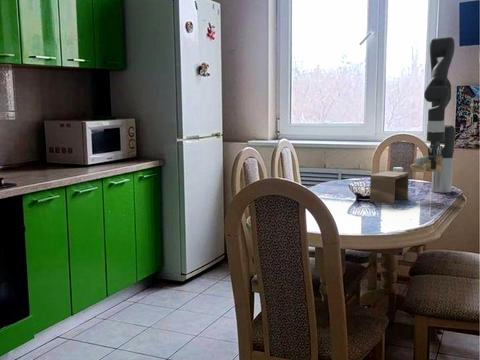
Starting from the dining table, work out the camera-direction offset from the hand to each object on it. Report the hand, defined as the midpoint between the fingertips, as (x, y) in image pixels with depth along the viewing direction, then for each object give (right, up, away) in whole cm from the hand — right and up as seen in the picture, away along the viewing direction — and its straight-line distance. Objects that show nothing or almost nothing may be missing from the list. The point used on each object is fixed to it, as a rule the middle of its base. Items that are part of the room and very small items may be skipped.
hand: (434, 168), depth 249 cm
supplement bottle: (-11, -12, +21) cm, 26 cm away
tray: (-2, -1, +2) cm, 3 cm away
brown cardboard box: (-20, -14, +2) cm, 25 cm away
